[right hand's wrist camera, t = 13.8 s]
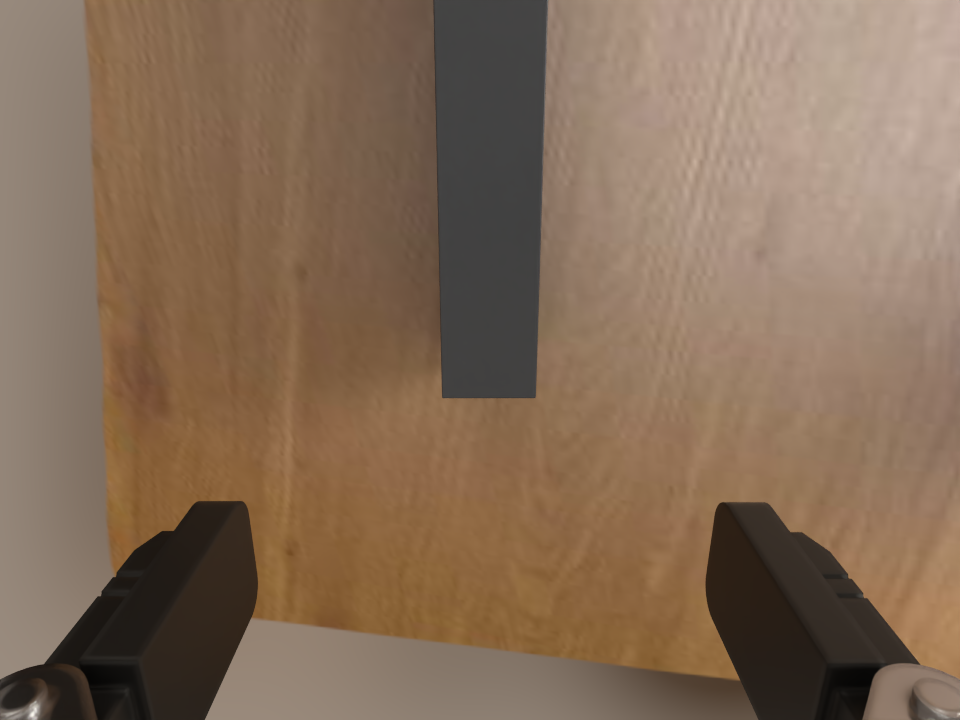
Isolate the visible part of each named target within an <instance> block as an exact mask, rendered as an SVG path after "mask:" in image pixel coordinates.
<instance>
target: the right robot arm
mask: <svg viewBox="0 0 960 720" xmlns="http://www.w3.org/2000/svg"><path fill="white" fill-rule="evenodd" d="M257 590H258V577H257V569H256V562H255V555H254V548H253V541H252V534H251V526H250V519H249V513H248V509H247V506H246V504H245V503H244V502H243V501H198V502H196V503H195V504H194V505H193V506H192V507H191V508H190V510H189V511H188V513H187V514H186V515H185V517H184V518H183V519H182V521H181V522H180V523H179V525H178V526H177V527H176V529H175V530H174V531H162V532H160V533H159V534H157V535H156V536H154V537H153V538H152V539H150V540H149V541H147V542H146V543H144V544H143V545H141V546H140V547H138V548H137V549H136V550H134V551H133V553H132V554H131V555H130V556H129V558H128V559H127V560H126V562H125V563H124V564H123V565H122V567H121V568H120V569H119V570H118V572H117V575H116V577H113V578H112V579H111V581H110V582H109V583H108V584H107V586H106V587H105V588H104V589H103V590H102V594H101V596H98V597H97V598H96V599H95V601H94V602H93V603H92V604H91V606H90V607H89V608H88V609H87V611H86V612H85V613H84V614H83V616H82V617H81V618H80V619H79V621H78V622H77V623H76V624H75V626H74V627H73V628H72V630H71V631H70V632H69V633H68V635H67V636H66V637H65V638H64V640H63V641H62V642H61V643H60V645H59V646H58V647H57V648H56V650H55V651H54V652H53V653H52V655H51V656H50V657H49V659H48V660H47V661H46V662H45V664H43V665H37V666H33V667H29V668H26V669H23V670H20V671H17V672H15V673H13V674H11V675H8V676H6V677H4V678H2V679H1V680H0V720H205V718H206V716H207V714H208V711H209V709H210V707H211V705H212V703H213V700H214V698H215V696H216V694H217V692H218V690H219V687H220V685H221V683H222V681H223V679H224V676H225V674H226V672H227V670H228V668H229V665H230V663H231V661H232V659H233V656H234V654H235V652H236V650H237V648H238V645H239V643H240V641H241V639H242V637H243V635H244V632H245V630H246V628H247V626H248V624H249V621H250V619H251V617H252V614H253V612H254V608H255V604H256V599H257ZM706 597H707V603H708V608H709V612H710V615H711V617H712V620H713V622H714V624H715V626H716V628H717V630H718V633H719V635H720V637H721V639H722V641H723V643H724V646H725V648H726V650H727V652H728V654H729V657H730V659H731V661H732V663H733V665H734V667H735V670H736V672H737V674H738V676H739V678H740V680H741V683H742V685H743V687H744V689H745V691H746V693H747V695H748V698H749V700H750V702H751V704H752V706H753V709H754V711H755V713H756V715H757V717H758V719H759V720H960V679H958V678H956V677H954V676H952V675H949V674H947V673H945V672H943V671H940V670H937V669H934V668H931V667H927V666H923V665H920V664H919V662H918V661H917V660H916V659H915V657H914V656H913V655H912V654H911V652H910V651H909V650H908V649H907V647H906V646H905V645H904V644H903V642H902V641H901V640H900V639H899V637H898V636H897V635H896V634H895V632H894V631H893V630H892V629H891V627H890V626H889V625H888V624H887V622H886V621H885V620H884V619H883V617H882V616H881V615H880V614H879V612H878V611H877V610H876V609H875V607H874V606H873V605H872V604H871V602H870V601H869V600H868V599H867V598H864V597H863V592H862V591H861V590H860V589H859V587H858V586H857V585H856V584H855V582H854V581H853V580H852V579H849V578H848V574H847V572H846V571H845V570H844V569H843V567H842V566H841V565H840V564H839V562H838V561H837V560H836V559H835V558H834V556H833V555H832V554H831V553H830V552H829V551H828V550H827V549H825V548H824V547H822V546H821V545H819V544H818V543H816V542H815V541H814V540H812V539H811V538H809V537H808V536H806V535H805V534H803V533H802V532H790V531H789V530H788V529H787V527H786V526H785V525H784V523H783V522H782V521H781V519H780V518H779V516H778V515H777V514H776V512H775V511H774V510H773V508H772V507H771V506H770V505H769V504H768V503H765V502H722V503H720V504H719V505H718V506H717V509H716V512H715V517H714V524H713V531H712V538H711V545H710V552H709V559H708V566H707V574H706Z"/></svg>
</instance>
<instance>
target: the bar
mask: <svg viewBox="0 0 960 720" xmlns="http://www.w3.org/2000/svg"><path fill="white" fill-rule="evenodd" d="M433 2H434V48H435V94H436V139H437V185H438V230H439V276H440V322H441V367H442V398H535V397H536V374H537V342H538V310H539V277H540V245H541V213H542V181H543V149H544V117H545V85H546V52H547V20H548V0H433Z"/></svg>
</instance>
